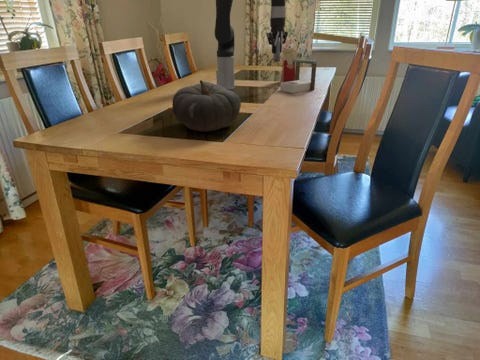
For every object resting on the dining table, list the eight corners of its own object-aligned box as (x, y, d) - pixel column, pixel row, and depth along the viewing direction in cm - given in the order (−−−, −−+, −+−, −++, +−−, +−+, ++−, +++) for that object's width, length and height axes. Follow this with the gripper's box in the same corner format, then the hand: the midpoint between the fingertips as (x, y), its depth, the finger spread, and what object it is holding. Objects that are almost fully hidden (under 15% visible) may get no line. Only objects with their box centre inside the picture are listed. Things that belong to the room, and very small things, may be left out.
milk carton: (294, 81, 207) (296, 46, 199) (295, 84, 199) (297, 48, 190) (280, 81, 208) (281, 46, 199) (280, 84, 200) (281, 48, 191)
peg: (276, 61, 176) (277, 37, 171) (271, 61, 179) (272, 36, 173) (281, 61, 178) (281, 36, 173) (276, 60, 181) (277, 36, 175)
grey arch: (309, 91, 180) (311, 61, 174) (291, 87, 191) (292, 59, 184) (314, 90, 182) (316, 60, 176) (296, 86, 193) (298, 58, 186)
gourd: (207, 106, 143) (207, 65, 132) (253, 126, 131) (257, 83, 120) (161, 126, 127) (156, 82, 117) (208, 151, 115) (208, 103, 104)
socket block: (293, 93, 177) (293, 85, 175) (280, 90, 184) (280, 82, 182) (310, 89, 183) (311, 82, 182) (297, 87, 191) (297, 80, 189)
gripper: (282, 16, 176) (280, 51, 183) (262, 17, 168) (262, 53, 175) (292, 16, 171) (291, 52, 178) (273, 17, 163) (272, 54, 170)
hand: (276, 52), depth 177 cm, fingers closed on peg, 3 cm apart
